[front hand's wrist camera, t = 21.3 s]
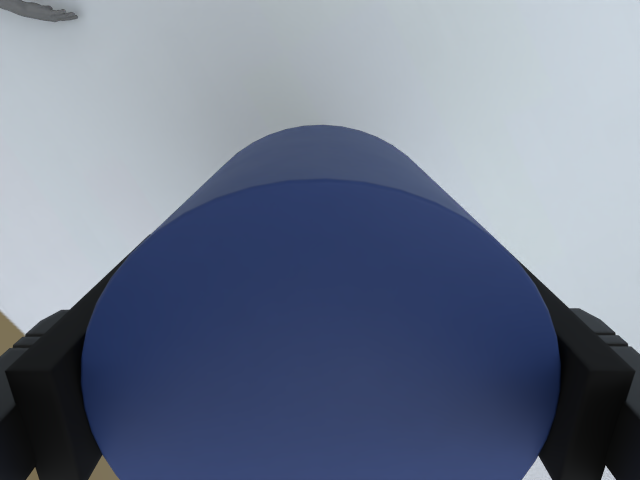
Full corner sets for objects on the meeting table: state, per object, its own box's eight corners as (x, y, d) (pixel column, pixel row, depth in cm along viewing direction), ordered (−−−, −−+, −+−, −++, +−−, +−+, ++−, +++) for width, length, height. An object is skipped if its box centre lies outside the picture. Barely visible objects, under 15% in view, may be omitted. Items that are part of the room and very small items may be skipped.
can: (151, 294, 16) (15, 472, 9) (269, 67, 13) (209, 59, 6) (358, 396, 17) (384, 614, 10) (502, 214, 15) (670, 344, 8)
